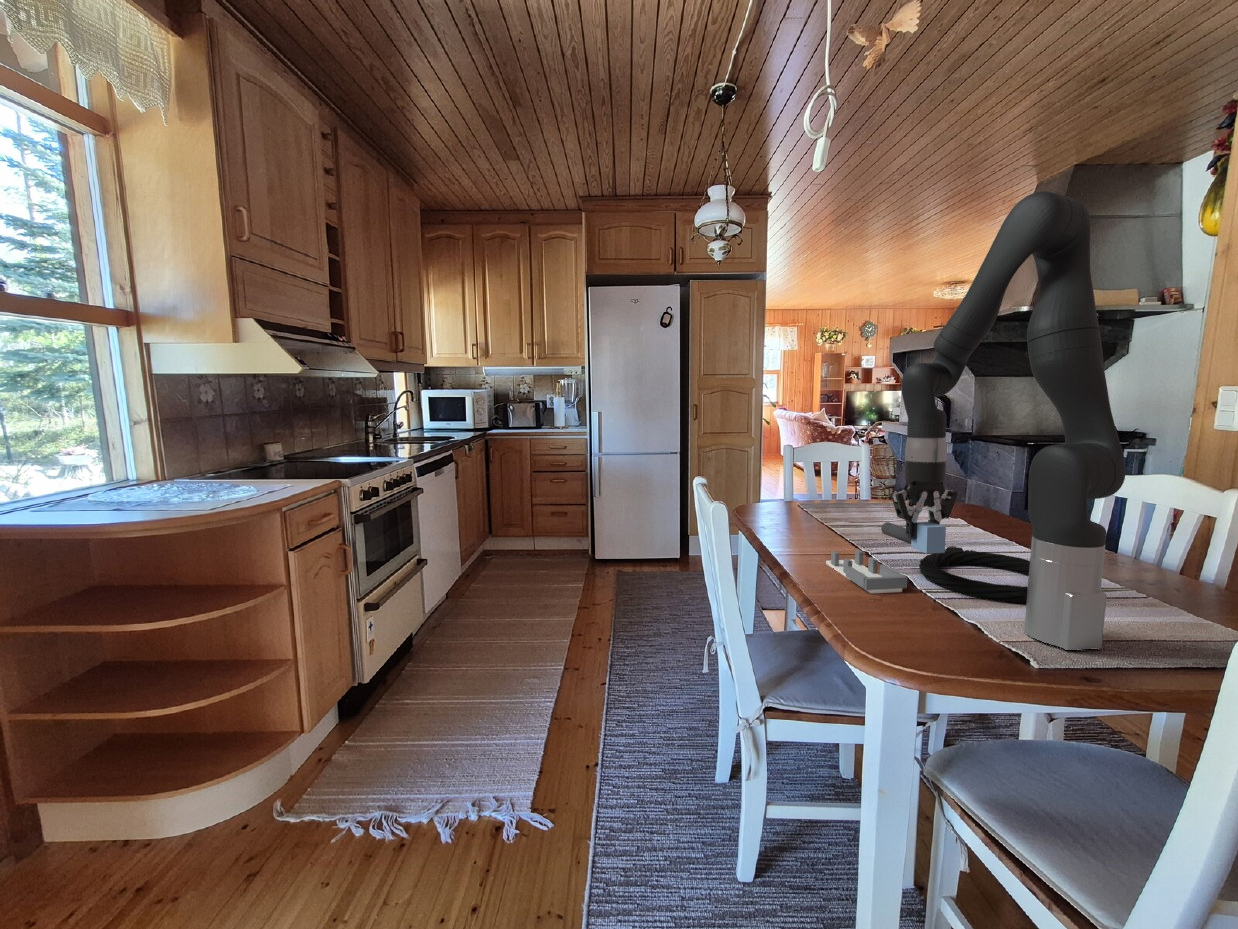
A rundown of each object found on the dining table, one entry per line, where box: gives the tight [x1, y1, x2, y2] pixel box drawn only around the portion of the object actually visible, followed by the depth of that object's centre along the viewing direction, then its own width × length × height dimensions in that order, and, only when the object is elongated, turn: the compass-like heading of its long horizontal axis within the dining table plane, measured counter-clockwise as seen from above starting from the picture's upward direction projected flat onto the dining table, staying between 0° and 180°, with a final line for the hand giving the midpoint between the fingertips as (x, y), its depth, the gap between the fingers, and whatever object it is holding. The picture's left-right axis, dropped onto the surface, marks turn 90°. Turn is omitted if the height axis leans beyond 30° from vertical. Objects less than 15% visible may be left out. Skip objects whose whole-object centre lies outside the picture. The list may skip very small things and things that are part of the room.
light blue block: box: [880, 521, 947, 555], centre depth 115 cm, size 17×4×6 cm, turn 4°
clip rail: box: [825, 549, 908, 595], centre depth 119 cm, size 20×9×4 cm, turn 4°
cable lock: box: [918, 545, 1030, 605], centre depth 116 cm, size 28×4×30 cm
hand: (922, 537), depth 111 cm, fingers closed on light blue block, 4 cm apart
